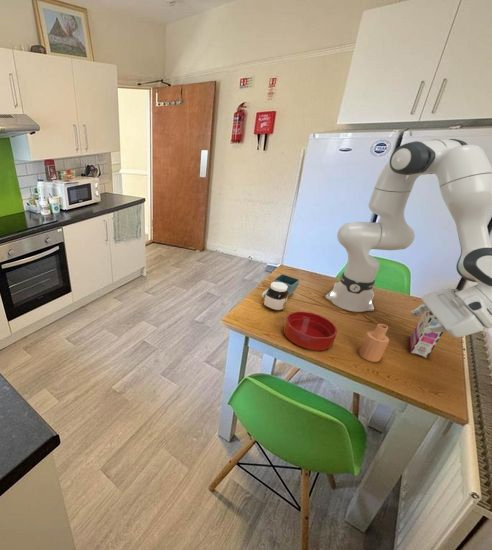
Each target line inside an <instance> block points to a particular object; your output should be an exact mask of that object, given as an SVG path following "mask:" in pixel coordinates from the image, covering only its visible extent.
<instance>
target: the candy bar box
mask: <svg viewBox="0 0 492 550" xmlns="http://www.w3.org/2000/svg"><path fill="white" fill-rule="evenodd" d="M439 323H440V322H439V320H438V319H437V318H436V317H435V316H434V314H433V313H432V312H431V311H430V310H429V311H424V312H422V314H421V317H420V319H419V321H418V323H417V324H416V326H415V328H414V329H413V332H412V333H411V335H410V337H409V344H410V345H409V347H410V354H413V355H415V356H416V355H417V356H419V357H422V358H425V359H428V358H429V356H430V355H431V353H432V352H433V350H434V348H435V347H436V345H437V344H438V342H439V340H440V338H441V337H442V335H443V334H444V332H431V333H428V334H426V333H425V332H424V331H423V329H422V327H424V326H426V325H428V326H437V325H436V324H439Z"/></svg>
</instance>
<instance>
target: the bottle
mask: <svg viewBox="0 0 492 550" xmlns="http://www.w3.org/2000/svg"><path fill="white" fill-rule="evenodd" d="M388 329H389V326H388V325H386V324H384V323H377V325H376V327H375V330H368V331H367V332H366V334H365V337H364V339H363V341H362V343H361V346H360V348H359V350H358V354H359V356H360V357H361V358H363V359H364V360H366V361H368V362H373V363H377V362H379V361H380V360H381V359H382V357H383V355H384V352H385V351H386V348H387V347H388V344H389V343H390V338H389V336H387V335H386V334H387V331H388Z"/></svg>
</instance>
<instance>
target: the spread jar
mask: <svg viewBox="0 0 492 550" xmlns="http://www.w3.org/2000/svg"><path fill="white" fill-rule="evenodd" d="M287 288H288V286H287V285H286V284H284V283H281V282H274V281H273V282H271V283H270V287H268V289H265V290H264V291H263V292H262V294H261V297H262V299H263V305H264V306H265V308H267V309H268V310H270V311H272V312H280V311H283V309H284V308H285V306H286V305H287V302H288V298H289V297H288V290H287Z"/></svg>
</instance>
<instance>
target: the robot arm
mask: <svg viewBox="0 0 492 550" xmlns="http://www.w3.org/2000/svg"><path fill="white" fill-rule="evenodd" d="M422 175H423V176H424V175H425V176H426V175H435V176H436V178H437V182H438V186H439V191H440V195H441V197H442V200H443V202H444V204H445V206H446V208H447V210H448V211H449V213H450V215H451V217H452V219H453V221H454V223H455V226H456V231H457V236H458V241H459V247H460V255H459V257H458V260H457V262H456V271H457V274H458V275H459V276H460V278H462V279H464V280H467V281H469V282H471V283H477V284H475V285H472V286H470V287H467V288H464V289H462V290H459V289H458V288H445V289H440V290H435V291H433V292H430V293H427V294H424V295H422V296H421V297H420V299H421V301H422V302H423V303H422V304H419V306H418V307H417V308H415V309H412V310H411V311H410V314H411V315H412V316H413V318H417V317H420V316H421V315H422V314H423V313H424V312H425V311H429V310H430V311H431V312H432V313H433V314H434V316H435V317H436V318H437V319H438V320H439V322H440V323H439V324H436V325H437V326H428V325H426V326H424V327H422V329H423V331H424V332H425V333H426V334H428V333H431V332H443V333H444V332H447V333H448V334H449V335H450V337H451V338H463V337H466V336H470V335H474V334H475V333H479V332H481V331H483V330H484V329H492V243H491V238H490V233H489V228H488V224H487V223H488V222H487V220H488V214H489V211H490V209H491V207H492V164H491V163H490V160H489V158H488V156H487V153H485V151H484V149H483V148H482V147H481V146H479V145H477V144H468V143H467V142H465V141H464V140H461V139H456V138H449V139H446V138H445V139H444V138H433V139H427V140H421V141H409V142H407V143H404V144H402V145H400V146H398V147H397V148H396V149H394V151H393V152H392V153H391V155H390V157H389V161H388V162H387V163H386V164H385V165H384V167H383V169H382V170H381V172H380V174H379V176H378V178H377V180H376V183H375V185H374V188H373V191H372V194H371V196H370V199H369V200H368V201H369V202H368V209H369V211H370V212H372V213H373V214H374V215H377V216H379V219H378V221H377V222H373V221H371V222H370V221H352V222H346V223H344V224H343V225H341V226H340V228H339V229H338V231H337V235H336V236H337V237H336V238H337V241H338V243H339V244H340V245H341V246H342V247H343V248H344V249H345V251H346V253H347V262H346V266H345V269H344V271H343V273H342V275H341V276H340V279H339V281H335V282H334V284H333V288H332V289H331V290H330V291H329V292H328V293H327V294H326V295H325V297H324V298H325V299H326V300H328V301H330V302H331V303H332V304H333V305H334V306H336V307H338V308H340V309H342V310H346V311H349V312H353V313H354V312H356V313H363V312H374V311H375V307H374V304H373V300H374V296H375V293H374V290H373V288H374V286H375V282H376V280H375V279H376V277H377V274H378V271H379V269H380V266H381V264H380V261H379V260H378V259H377V258H376V257H374V256H372V255H371V254H370V251H371V250H377V251H399V250H401V251H402V250H406V249H407V248H409V247H410V246H411V245H412V244H413V243H414V240H415V236H416V235H415V231H414V229H413V228H412V227H411V226H410V225H409V224H408V223H407V221H406V218H405V210H406V206H407V203H408V200H409V198H410V195H411V193H412V190H413V187H414V185H415V182H416V180H417V179H418V178H419V177H420V176H422Z"/></svg>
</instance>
